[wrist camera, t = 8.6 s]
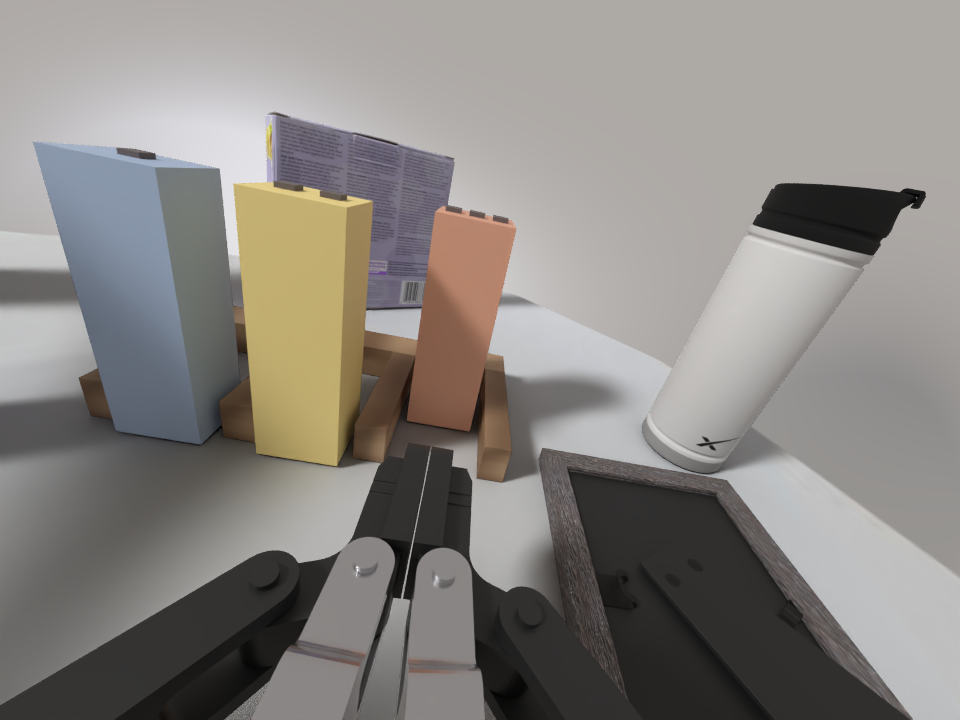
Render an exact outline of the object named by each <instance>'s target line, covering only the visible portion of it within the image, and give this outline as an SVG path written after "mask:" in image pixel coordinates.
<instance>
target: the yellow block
mask: <svg viewBox="0 0 960 720" xmlns="http://www.w3.org/2000/svg"><path fill="white" fill-rule="evenodd" d="M234 196H235V208H236V220H237V231H238V243H239V255H240V267H241V279H242V291H243V303H244V315H245V326H246V338H247V350H248V362H249V374H250V386H251V398H252V409H253V421H254V433H255V445H256V453H257V454H263V455H270V456H276V457H282V458H288V459H295V460H301V461H307V462H313V463H320V464H326V465H332V466H337V465H338V463H339V461H340V459H341V457H342V455H343V453H344V451H345V449H346V448H347V446H348V444H349V442H350V440H351V438H352V436H353V434H354V431H355V423H356V422H357V420H358V418H359V407H360V392H361V377H362V362H363V347H364V332H365V317H366V302H367V288H368V273H369V258H370V243H371V228H372V213H373V201H370V200H365V199H360V198H356V197H351V196H347V194H344V193H339V192H334V191H330V190H318V189H313V188H308V187H304V186H303V185H302V184H297V183H292V182H287V181H273V182H267V183H241V184H234Z"/></svg>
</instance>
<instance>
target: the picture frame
mask: <svg viewBox="0 0 960 720" xmlns="http://www.w3.org/2000/svg"><path fill="white" fill-rule="evenodd" d="M538 460H539V465H540V471H541V477H542V483H543V489H544V494H545V500H546V506H547V512H548V518H549V524H550V529H551V535H552V541H553V547H554V553H555V558H556V564H557V570H558V576H559V582H560V588H561V593H562V599H563V605H564V611H565V617H566V622H567V625H568V626H569V627H570V629H571V630H572V631H573V632H574V634H575V635H576V636H577V637H578V639H579V640H580V641H581V642H582V644H583V645H584V646H585V647H586V649H587V650H588V651H589V652H590V654H591V655H592V656H593V657H594V659H595V660H596V661H597V662H598V664H599V665H600V666H601V667H602V669H603V670H604V671H605V672H606V674H607V675H608V676H609V677H610V679H611V680H612V681H613V682H614V684H615V685H616V686H617V687H618V688H619V690H620V691H621V692H622V693H623V695H624V696H625V697H626V698H627V700H628V701H629V702H630V703H631V705H632V706H633V707H634V708H635V710H636V711H637V712H638V713H639V715H640V716H641V717H642V718H643V720H913V719H912V718H911V716H910V715H909V714H908V712H907V711H906V710H905V709H904V707H903V706H902V705H901V703H900V702H899V701H898V700H897V698H896V697H895V696H894V694H893V693H892V692H891V691H890V689H889V688H888V687H887V685H886V684H885V683H884V682H883V680H882V679H881V678H880V676H879V675H878V674H877V673H876V671H875V670H874V669H873V667H872V666H871V665H870V664H869V662H868V661H867V660H866V658H865V657H864V656H863V655H862V653H861V652H860V651H859V649H858V648H857V647H856V646H855V644H854V643H853V642H852V640H851V639H850V638H849V637H848V635H847V634H846V633H845V631H844V630H843V629H842V628H841V626H840V625H839V624H838V622H837V621H836V620H835V619H834V617H833V616H832V615H831V613H830V612H829V611H828V610H827V608H826V607H825V606H824V604H823V603H822V602H821V601H820V599H819V598H818V597H817V595H816V594H815V593H814V592H813V590H812V589H811V588H810V586H809V585H808V584H807V583H806V581H805V580H804V579H803V577H802V576H801V575H800V574H799V572H798V571H797V570H796V568H795V567H794V566H793V565H792V563H791V562H790V561H789V559H788V558H787V557H786V556H785V554H784V553H783V552H782V550H781V549H780V548H779V547H778V545H777V544H776V543H775V541H774V540H773V539H772V538H771V536H770V535H769V534H768V532H767V531H766V530H765V529H764V527H763V526H762V525H761V523H760V522H759V521H758V520H757V518H756V517H755V516H754V514H753V513H752V512H751V511H750V509H749V508H748V507H747V505H746V504H745V503H744V502H743V500H742V499H741V498H740V496H739V495H738V494H737V493H736V491H735V490H734V489H733V487H732V486H731V485H730V484H729V482H728V481H727V480H723V479H717V478H711V477H706V476H700V475H694V474H689V473H683V472H677V471H671V470H666V469H660V468H654V467H649V466H643V465H637V464H631V463H626V462H620V461H614V460H609V459H603V458H597V457H591V456H586V455H580V454H574V453H569V452H563V451H557V450H552V449H546V448H542V451H541V454H540V457H539V459H538Z"/></svg>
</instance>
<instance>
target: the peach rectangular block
mask: <svg viewBox="0 0 960 720" xmlns="http://www.w3.org/2000/svg"><path fill="white" fill-rule="evenodd" d="M515 232H516V227H515V226H514V224H513V222H512V221H511V220H509V219H508V218H505V217H500V216H496V215H494V216H493V217H492V216H487V215H485V213H482V212H477V211H472V210H471V211H470V212H469V211H464V210H462V208H458V207H454V206H449V205H447V206H446V207H445V206H442V207H441V208H439V209H438V210H437V211H435V217H434V224H433V232H432V239H431V246H430V254H429V261H428V268H427V276H426V283H425V290H424V298H423V305H422V312H421V320H420V327H419V334H418V342H417V349H416V356H415V364H414V371H413V378H412V386H411V393H410V400H409V408H408V415H407V421H411V422H416V423H422V424H428V425H434V426H440V427H446V428H452V429H457V430H463V431H469V432H470V428H471V423H472V419H473V415H474V410H475V406H476V402H477V397H478V393H479V389H480V384H481V380H482V376H483V371H484V367H485V363H486V358H487V354H488V350H489V345H490V341H491V337H492V332H493V328H494V324H495V319H496V315H497V311H498V306H499V302H500V298H501V293H502V289H503V285H504V280H505V276H506V272H507V267H508V263H509V259H510V254H511V250H512V246H513V241H514V237H515Z"/></svg>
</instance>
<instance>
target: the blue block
mask: <svg viewBox="0 0 960 720" xmlns="http://www.w3.org/2000/svg"><path fill="white" fill-rule="evenodd" d="M33 144H34V147H35V151H36V154H37V157H38V161H39V165H40V168H41V172H42V175H43V179H44V182H45V185H46V189H47V192H48V196H49V199H50V203H51V206H52V210H53V213H54V217H55V220H56V224H57V227H58V231H59V234H60V238H61V241H62V245H63V248H64V252H65V255H66V259H67V262H68V266H69V269H70V273H71V276H72V280H73V283H74V287H75V290H76V294H77V297H78V301H79V304H80V308H81V311H82V315H83V318H84V322H85V325H86V328H87V332H88V335H89V339H90V342H91V346H92V349H93V353H94V356H95V360H96V363H97V367H98V370H99V374H100V377H101V381H102V384H103V388H104V391H105V395H106V398H107V402H108V405H109V409H110V412H111V416H112V419H113V423H114V426H115V430H116V431H119V432H125V433H132V434H138V435H144V436H150V437H157V438H163V439H169V440H175V441H182V442H188V443H194V444H200V445H201V444H202V443H203V442H204V441H205V440H206V439H207V438H208V437H209V436H210V435H212V434H213V433H214V432H215V431H216V430H217V429H218V428H219V427H220V426H221V425H222V421H221V414H220V406H219V401H220V400H221V399H223V398H224V397H225V396H226V395H227V394H228V393H230V392H231V391H232V390H233V389H234V388H236V387H237V386H238V385H239V384H240V383H241V382H240V372H239V362H238V352H237V341H236V331H235V321H234V311H233V300H232V290H231V280H230V270H229V260H228V249H227V240H226V229H225V219H224V209H223V198H222V188H221V179H220V169H219V168H214V167H209V166H204V165H200V164H195V163H190V162H186V161H181V160H176V159H171V158H167V157H162V156H158V155H155V153H151V152H146V151H141V150H137V149H128V148H114V147H100V146H85V145H73V144H58V143H45V142H33Z"/></svg>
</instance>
